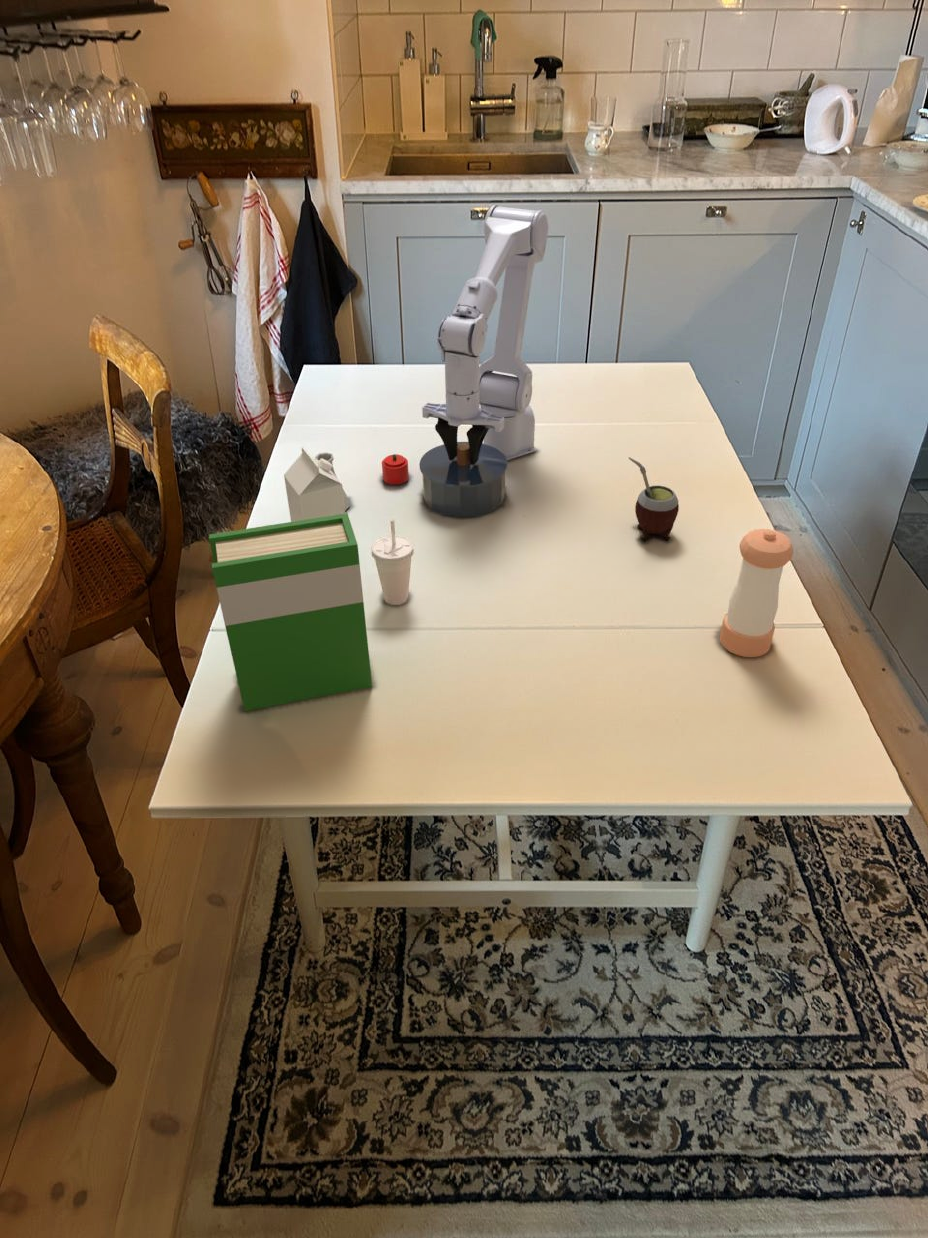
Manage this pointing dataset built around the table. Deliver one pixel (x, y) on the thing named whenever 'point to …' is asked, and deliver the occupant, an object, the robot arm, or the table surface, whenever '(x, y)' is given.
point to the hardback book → (293, 609)
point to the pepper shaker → (756, 593)
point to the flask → (330, 458)
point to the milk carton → (313, 489)
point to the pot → (464, 498)
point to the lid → (463, 466)
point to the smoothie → (393, 565)
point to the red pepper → (395, 469)
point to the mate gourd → (655, 509)
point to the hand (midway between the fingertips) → (463, 459)
